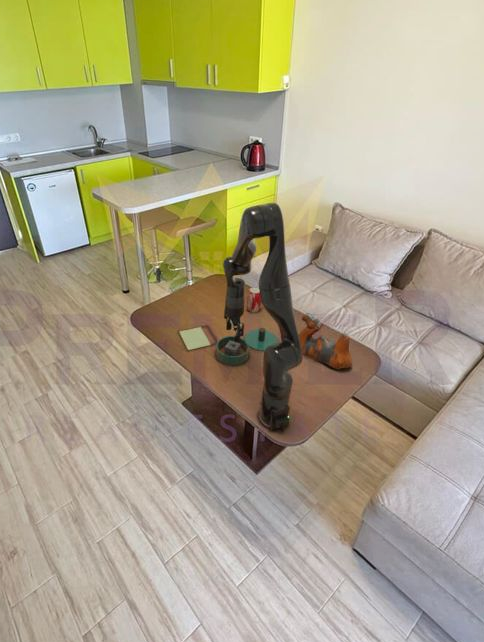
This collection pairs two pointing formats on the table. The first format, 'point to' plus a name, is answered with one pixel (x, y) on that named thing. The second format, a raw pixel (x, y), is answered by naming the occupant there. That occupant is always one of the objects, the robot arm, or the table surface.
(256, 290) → the soda can
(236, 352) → the dice cube
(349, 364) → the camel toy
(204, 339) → the placemat
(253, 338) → the pot lid
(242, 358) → the pot
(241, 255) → the robot arm
